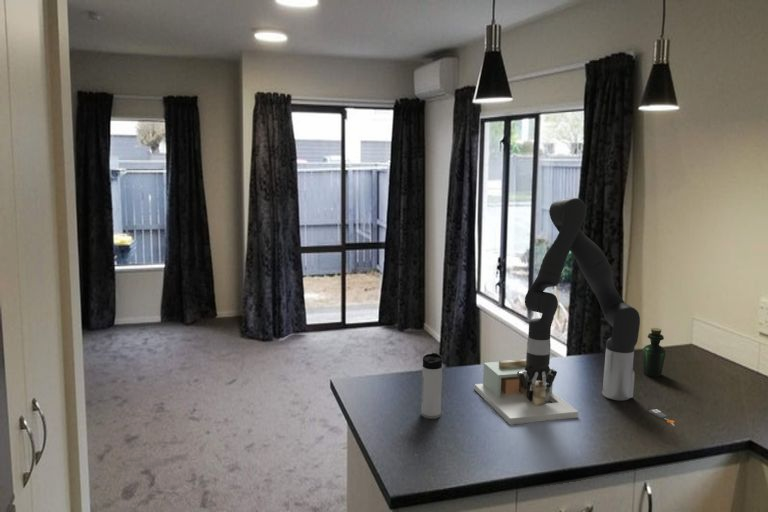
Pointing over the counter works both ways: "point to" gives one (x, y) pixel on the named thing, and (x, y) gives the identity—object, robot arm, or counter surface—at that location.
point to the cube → (510, 385)
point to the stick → (512, 363)
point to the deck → (520, 398)
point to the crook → (536, 393)
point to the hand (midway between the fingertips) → (535, 399)
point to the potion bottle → (654, 354)
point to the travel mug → (431, 386)
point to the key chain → (660, 415)
